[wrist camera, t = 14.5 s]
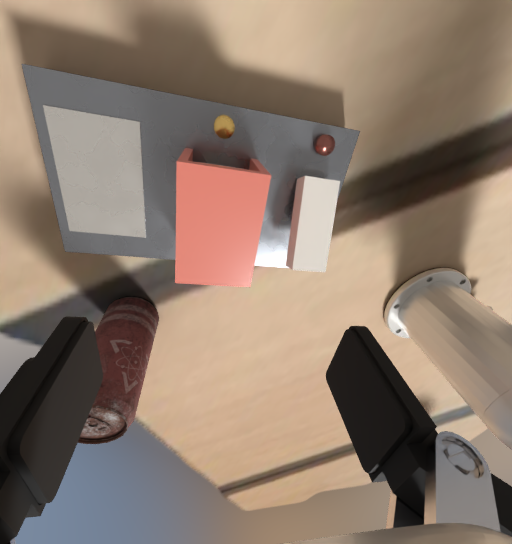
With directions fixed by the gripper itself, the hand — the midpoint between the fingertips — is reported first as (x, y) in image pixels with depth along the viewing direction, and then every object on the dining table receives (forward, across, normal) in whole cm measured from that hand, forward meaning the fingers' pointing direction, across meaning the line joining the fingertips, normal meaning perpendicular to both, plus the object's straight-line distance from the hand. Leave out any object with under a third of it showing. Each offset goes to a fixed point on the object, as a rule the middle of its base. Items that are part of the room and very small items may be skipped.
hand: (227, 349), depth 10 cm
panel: (+20, +1, -1) cm, 20 cm away
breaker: (+14, -8, 0) cm, 17 cm away
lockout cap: (+17, 0, 0) cm, 17 cm away
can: (+20, +9, +16) cm, 27 cm away
